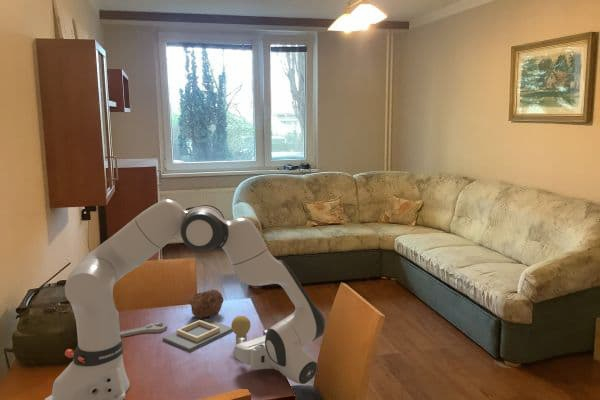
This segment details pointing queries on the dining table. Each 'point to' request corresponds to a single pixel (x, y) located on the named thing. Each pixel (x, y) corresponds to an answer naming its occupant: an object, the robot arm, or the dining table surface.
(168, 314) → the dining table surface
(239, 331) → the light bulb
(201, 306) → the decorative rock
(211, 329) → the board
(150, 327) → the adjustable wrench
